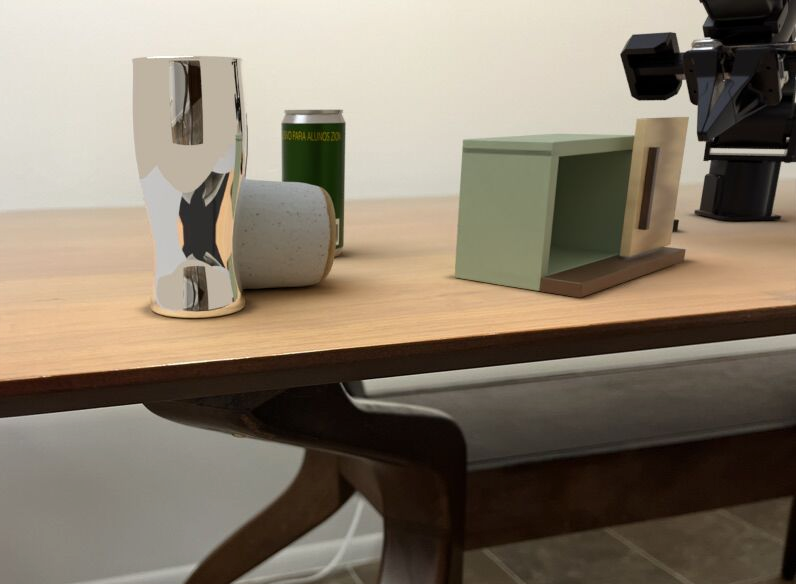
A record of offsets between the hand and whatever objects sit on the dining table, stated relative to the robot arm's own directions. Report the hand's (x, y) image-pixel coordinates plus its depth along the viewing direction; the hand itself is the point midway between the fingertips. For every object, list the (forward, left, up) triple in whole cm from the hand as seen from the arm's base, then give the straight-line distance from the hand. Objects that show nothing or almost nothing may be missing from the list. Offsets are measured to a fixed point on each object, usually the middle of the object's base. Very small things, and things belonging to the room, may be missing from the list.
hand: (702, 137), depth 68 cm
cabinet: (+13, +6, -10) cm, 17 cm away
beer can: (+32, -3, -10) cm, 34 cm away
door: (+6, +6, -8) cm, 12 cm away
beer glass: (+42, +15, -10) cm, 46 cm away
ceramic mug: (+37, +8, -10) cm, 39 cm away
